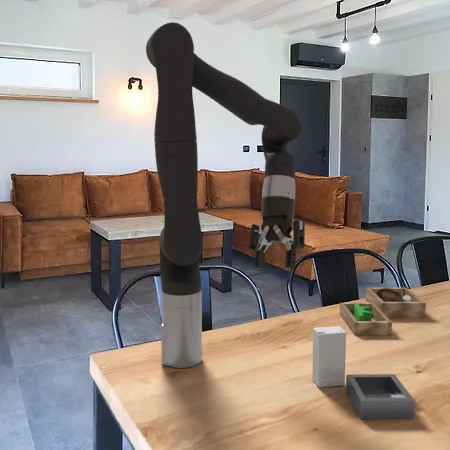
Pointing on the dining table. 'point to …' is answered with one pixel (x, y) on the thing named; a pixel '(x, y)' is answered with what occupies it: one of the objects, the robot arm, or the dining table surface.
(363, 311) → the green notched block
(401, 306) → the figurine corral
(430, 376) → the dining table surface
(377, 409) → the keeper tray
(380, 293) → the eagle figurine
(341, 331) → the skincare box
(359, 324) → the tray
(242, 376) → the dining table surface
